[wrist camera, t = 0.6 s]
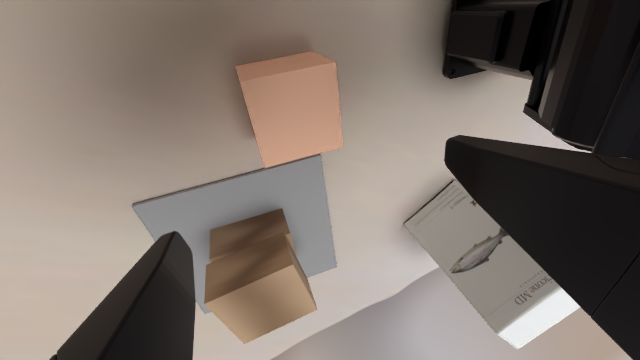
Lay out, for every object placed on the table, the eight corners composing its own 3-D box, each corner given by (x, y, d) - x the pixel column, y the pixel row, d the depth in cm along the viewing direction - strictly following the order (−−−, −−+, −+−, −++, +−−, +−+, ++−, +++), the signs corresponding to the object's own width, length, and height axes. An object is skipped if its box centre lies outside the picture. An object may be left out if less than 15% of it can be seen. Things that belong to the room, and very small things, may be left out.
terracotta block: (311, 50, 18) (335, 61, 14) (321, 122, 21) (343, 146, 17) (234, 65, 17) (239, 81, 13) (255, 138, 20) (264, 168, 16)
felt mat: (319, 153, 22) (320, 155, 21) (335, 265, 30) (336, 267, 29) (132, 204, 19) (131, 206, 19) (205, 311, 27) (204, 313, 27)
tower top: (283, 231, 20) (293, 264, 18) (306, 276, 24) (317, 309, 21) (205, 265, 20) (204, 304, 17) (241, 306, 23) (244, 343, 20)
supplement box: (454, 176, 28) (588, 271, 18) (476, 209, 32) (594, 301, 22) (400, 223, 29) (497, 336, 19) (428, 248, 34) (519, 353, 23)
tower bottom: (282, 208, 23) (290, 233, 20) (294, 254, 26) (303, 281, 24) (210, 229, 22) (209, 259, 19) (233, 275, 25) (234, 305, 23)
